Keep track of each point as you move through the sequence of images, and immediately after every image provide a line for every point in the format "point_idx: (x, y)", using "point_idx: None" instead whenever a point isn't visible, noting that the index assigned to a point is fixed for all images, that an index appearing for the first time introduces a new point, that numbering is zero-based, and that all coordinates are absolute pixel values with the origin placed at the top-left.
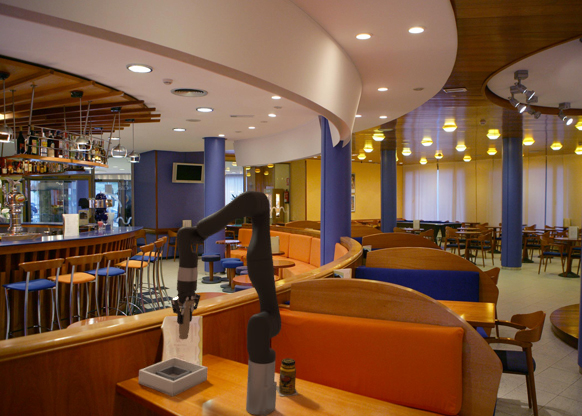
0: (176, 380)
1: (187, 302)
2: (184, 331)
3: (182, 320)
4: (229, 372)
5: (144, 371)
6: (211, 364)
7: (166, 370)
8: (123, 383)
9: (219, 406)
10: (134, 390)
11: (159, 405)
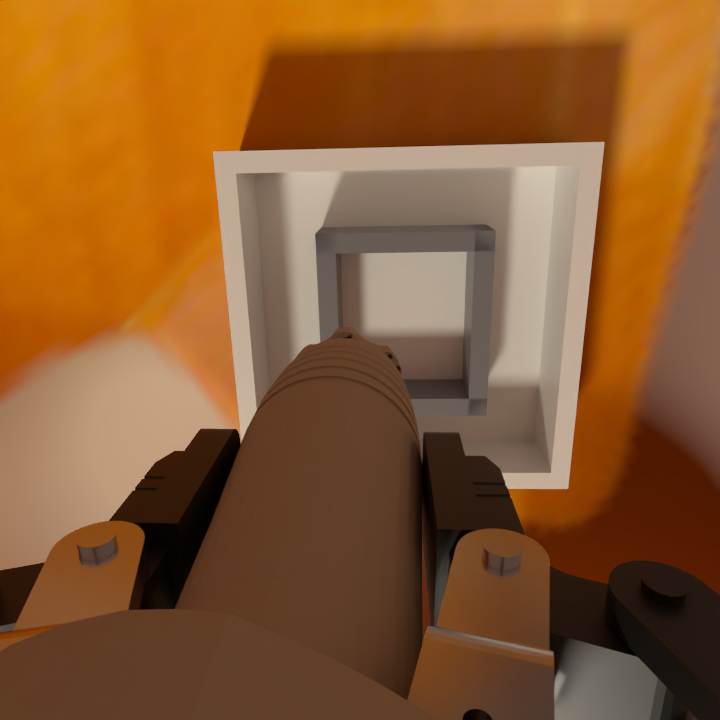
0: (558, 154)
1: None
2: (384, 366)
3: (449, 458)
4: (31, 114)
5: (563, 448)
6: (39, 316)
7: None
8: (590, 505)
9: None
10: (628, 393)
11: (715, 114)
